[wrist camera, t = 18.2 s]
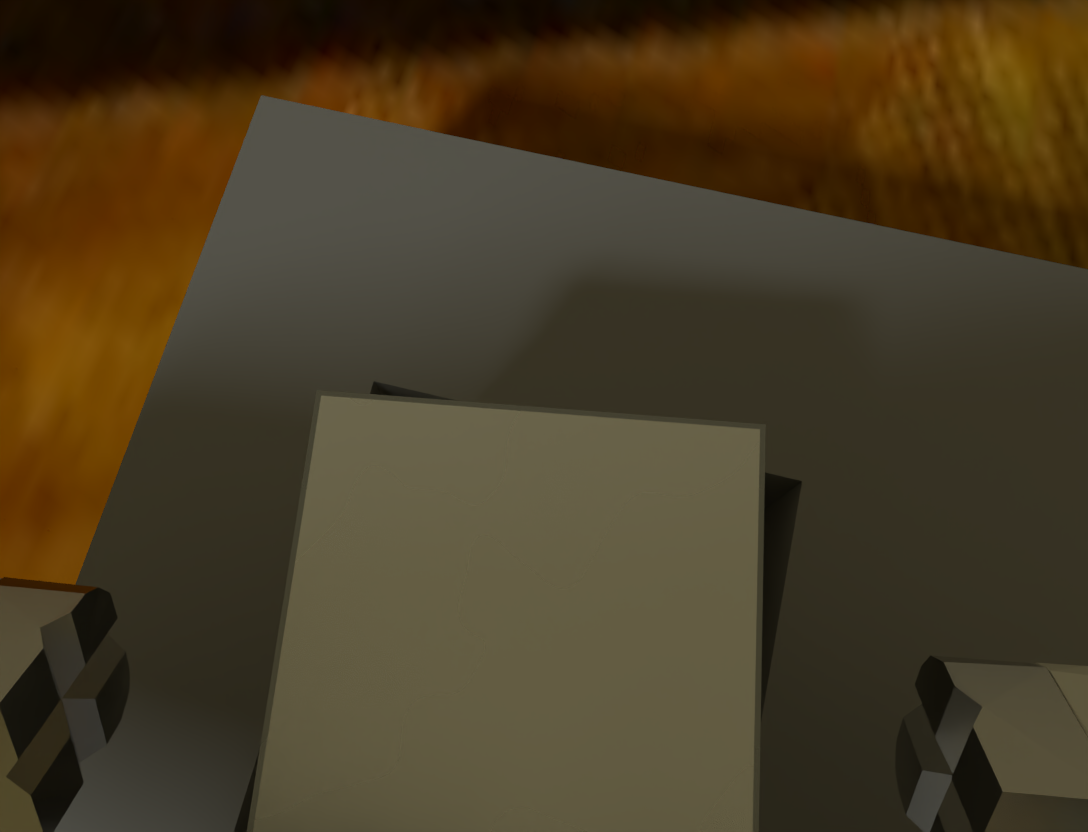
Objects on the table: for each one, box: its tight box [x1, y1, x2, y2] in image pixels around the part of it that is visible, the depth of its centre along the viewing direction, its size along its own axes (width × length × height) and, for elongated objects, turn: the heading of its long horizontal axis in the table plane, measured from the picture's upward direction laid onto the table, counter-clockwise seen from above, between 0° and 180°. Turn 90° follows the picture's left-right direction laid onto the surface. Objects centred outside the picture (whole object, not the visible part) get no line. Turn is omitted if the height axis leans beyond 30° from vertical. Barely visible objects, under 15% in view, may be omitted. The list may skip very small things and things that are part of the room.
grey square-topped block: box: [247, 390, 766, 832], centre depth 11 cm, size 4×4×8 cm
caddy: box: [54, 95, 1088, 832], centre depth 13 cm, size 14×24×5 cm, turn 76°
